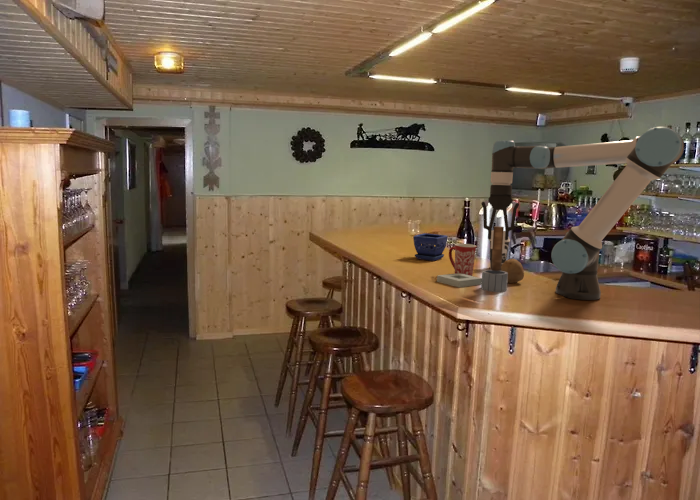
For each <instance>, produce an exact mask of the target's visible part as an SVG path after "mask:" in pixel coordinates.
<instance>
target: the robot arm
mask: <svg viewBox="0 0 700 500" xmlns="http://www.w3.org/2000/svg"><path fill="white" fill-rule="evenodd" d="M684 142H685V141H684V139H683V137H681V135H680V134H679V133H678V132H677V131H676V130H674V129H672V128H670V127H668V126H667V127H666V126H656V127H652V128H649V129H647V130H646V131H645V132H643V133H642V134H640V136H636V137H634V138H633V139H629V140H620V141H619V140H617V141H608V142H606V141H605V142H598V143H596V142H595V143H586V144H585V143H583V144H574V145H563V146H561V145H560V146H554V147H553V146H551V147H550V146H549V147H548V146H543V145H534V146H533V145H532V146H531V145H527V146H526V145H525V146H517V145H516V144H515V143H516V142H515V141H514V140H495V141H494V142H493V146H492V152H491V156H492V157H491V172H490V174H491V175H490V183H491V185H490V186H489V187H490V190H489V191H490V192H489V197H488V199H487V200H484V201H483V200H482V202H481V206H482V210H483V213H482V215H483V217H482V218H483V219H482V222H483V223H482V224H483V225H482V227H483V229H485V230H487V231H488V232H487V239H488V240H489V239H491V248H490V247H489V250H490V249H493V234H494V229H493V227H494V222H495V217H496V213H497V211H503V212H502V213H503V220H504V228H505V230H504V231H503V245H502V249H504V247H505V240H508V236H509V235H510V234H509V232H510V231H513V230H515V226H516V225H515V223H516V218H517V209H518V208H519V206H520V203H519V202H516V201H513V198H512V193H513V192H512V190H513V186H512V185H511V184H513V175H514V169H518V168H521V169H539V170H547V169H556V168H557V169H558V168H571V167H572V168H573V167H588V166H589V167H590V166H603V165H605V166H606V165H619V164H620V165H621V164H626V166H625V167H624V168H623V169H622V170H621V172H620V173H619V174H618V176H617V177H616V178H615V179H614V181H613V182H612V183H611V184H610V186H609V187H608V188H607V190H606V191H605V192H604V193H603V195H602V196H601V197H600V198H599V200H598V201H597V202H596V204H595V205H594V206H593V207H592V209H591V210H590V211H589V213H587V215H586V217H584V219H583V220H581V223H580V224H579V225H577V226H572V227H571V228H570V229H569V230H568V231H567V232H566V233H565V235H564V237H562V239H561V240H559V241H558V242H557V243H556V244H555V245H554V246H553V247H552V250H551V261H552V263H553V265H554V266H555V268H556V269H557V270H558V271H560V272H561V275H560V278H559V279H558V281H557V284H556V286H555V293H556V294H557V295H559V296H562V297H563V298H567V299H572V300H582V301H583V300H584V301H595V300H599V299H601V293H602V291H601V288H600V283H599V280H598V269H599V259H600V251H601V250H602V249H603V242H602V241H603V239H605V237H606V236H607V235H608V234H609V233H610V231H611V230H612V229H613V228H614V226H615V225H617V223H618V222H619V220H620V219H621V218H622V217H623V215H624V214H625V213H626V212H627V210H629V208H630V207H631V206H632V205H633V203H635V201H636V200H637V199H638V197H639V196H640V195H642V193H643V192H644V190H645V189H646V187H648V186H649V184H650V183H651V181H654V180H659V179H661V178H662V176H663V175H664V174H665V173H666V172H667V170H668V169H669V168H670V167H671V165H674V164H675V163H676V162H678V161H679V160H680V158H681V157H682V155H683V153H684V150H685V143H684ZM489 204H490V206H491V208H492V212H491V216H490V221H489V224H488V206H489ZM510 205H512V216H511V222H510V226H509V220H508V219H509V218H508V211H507V209H508V208H509V207H510Z"/></svg>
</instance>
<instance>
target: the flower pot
mask: <svg viewBox="0 0 700 500" xmlns="http://www.w3.org/2000/svg"><path fill="white" fill-rule="evenodd" d="M447 242H448V235H444V234H435V233H426V232H425V233H421V234H417V235H414V236H413V245H414V249H415V251H416V253H415V254H414V257H415V258H416V259H418V260H425V261H431V262H433V261H438V260H442V259H443V258H444V256H445V254H444V251H445V250H446V249H445V248H446V246H447Z"/></svg>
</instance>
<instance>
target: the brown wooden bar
mask: <svg viewBox="0 0 700 500" xmlns="http://www.w3.org/2000/svg"><path fill="white" fill-rule="evenodd" d="M504 228H505V226H501V225H500V226H496V225H495V226H494V225H493V230H494V234H493V249H492V266H491V268H490V270H494V271H501V263H502V245H503V231H505V230H504Z"/></svg>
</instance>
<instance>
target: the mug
mask: <svg viewBox="0 0 700 500" xmlns="http://www.w3.org/2000/svg"><path fill="white" fill-rule="evenodd" d="M477 247H478V246H477V245H474V244H473V243H472V244H471V243H455V244H454V246H452V247H450V248H449V250H448V259H449V261H450V264H451V265H452V268H453V269H454V274H455V273H461V274H466V275H470V276H473V275H474V266H475V258H476V250H477ZM453 250H454V258H453Z"/></svg>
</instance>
